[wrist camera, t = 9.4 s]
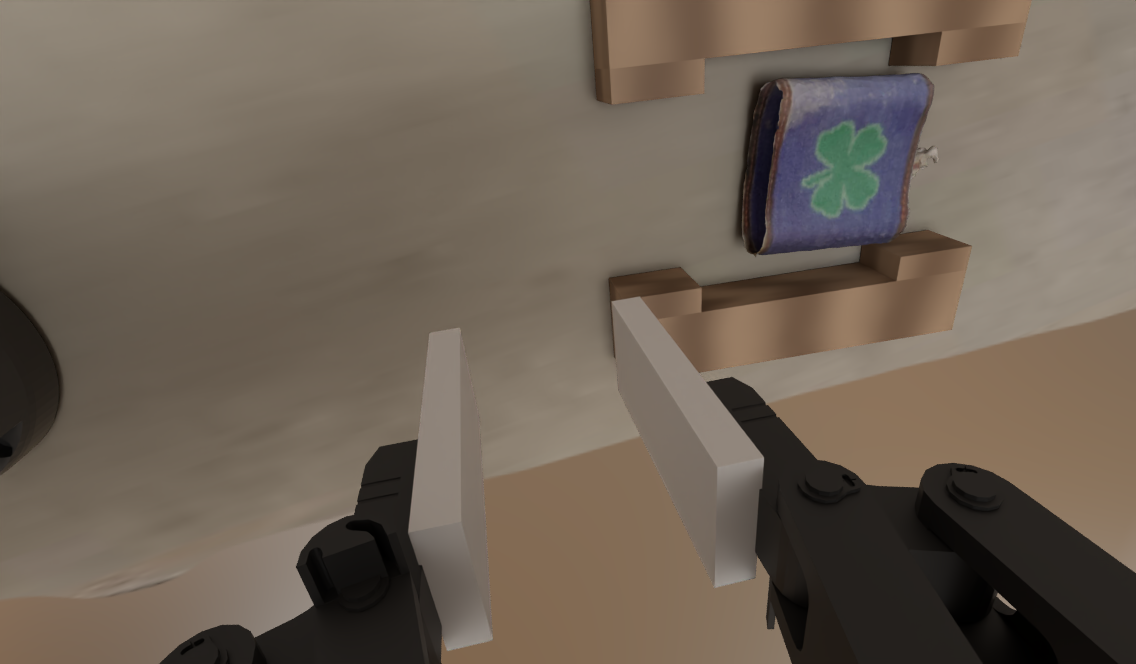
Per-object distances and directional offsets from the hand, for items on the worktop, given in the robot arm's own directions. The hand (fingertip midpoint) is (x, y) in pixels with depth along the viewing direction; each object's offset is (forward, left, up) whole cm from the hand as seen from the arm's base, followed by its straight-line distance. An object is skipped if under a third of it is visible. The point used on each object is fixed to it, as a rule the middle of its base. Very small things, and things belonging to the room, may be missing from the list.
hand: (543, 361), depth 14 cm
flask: (+14, 0, -19) cm, 24 cm away
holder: (+16, 0, -18) cm, 24 cm away
